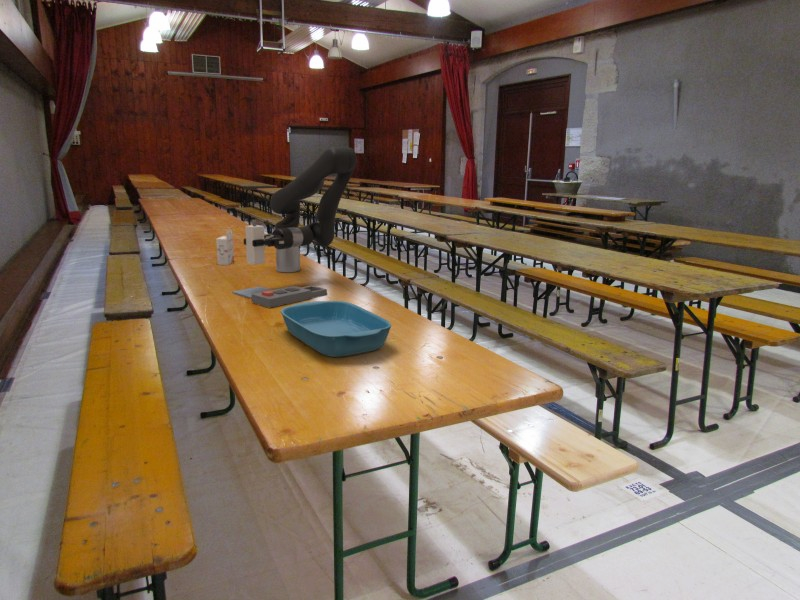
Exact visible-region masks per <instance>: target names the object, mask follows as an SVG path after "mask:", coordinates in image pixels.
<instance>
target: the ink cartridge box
mask: <svg viewBox="0 0 800 600" xmlns="http://www.w3.org/2000/svg"><path fill="white" fill-rule="evenodd" d="M233 234H234V233H233V230H232V229H230V230H227V231H226V232H225V235H222V236H219V237H217V238H216V239H215V241H216V255H217V257H216V258H217V265H218V266H230V265H231V264H232V262H233V263H234V262H235V256H234V253H235V251H234V235H233ZM229 264H230V265H229Z"/></svg>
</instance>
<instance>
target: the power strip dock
mask: <svg viewBox="0 0 800 600" xmlns="http://www.w3.org/2000/svg"><path fill="white" fill-rule="evenodd" d="M326 294H327V295H328V288H325V287H324V288H323V287H320V286H315V285H306V286H303V287H300V286H296V285H291V286H286V287H282V288H281V287H279V288H275V289H271V290H270V291H264V292H259V293H254V294H252V299H251V303H252V302H253V303H252V304H254V303H256V304H255V305H257V304H259V306H261V305H262V306H261V307H264V306H265V308H267V307H269V308H268V309H272V308H271V307H273V308H276V306H277V307H280V305H282V306H285V305H284V304H286V305H290V304H294V303H293V302H295V303H298V302H297V301H299V302H303V301H302V300H304V301H308V300H311V299H313V297H314V298H319V297H322V296H326ZM318 296H319V297H318ZM307 299H308V300H307ZM289 303H290V304H289Z"/></svg>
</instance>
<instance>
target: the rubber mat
mask: <svg viewBox="0 0 800 600" xmlns="http://www.w3.org/2000/svg"><path fill="white" fill-rule="evenodd" d="M270 290H272V289H271V288H267V287H263V286H256V287H255V286H254V287H249V288H244V289H239V290H238V289H237V290H234V291H232V292H231V293H232V294H233V293H234V295H236V294H237V296H240V295H241V296H240V297H243V296H244V297H243V298H247V297H248V298H247V299H250V298H252V294H254V293H259V292H264V291H270Z"/></svg>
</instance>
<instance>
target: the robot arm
mask: <svg viewBox="0 0 800 600" xmlns="http://www.w3.org/2000/svg"><path fill="white" fill-rule="evenodd" d="M356 165H357V154H356V152H355V150H354V149H353V148H352V147H349V146H331V147H328V148H327V149H325V150H324V151H323V152H322V154H320V155H319V157H318V158H316V160H315V161H314V162H313V163H312V164H311V165H310V166H308V167H307V168H306V169H305V170H303V171H302V172H301V173H300V174H299V175H297V176H296V177H295V178H294V179H293V180H292V181H290V182H289V183H288V184H287V185H285V186H284V187H282V188H280V189H278V190H277V191H275V192H274V193H273V194H272V195H271V198H270V201H269V206H270V209H271V211H273V212H274V213H275V214H277V215H285V217H284V218H283V219H282V220H280V221H278V222H277V223H276V224H275V229H274V230H273V231H272V233H265V234H264V239H263V240H262V239H259V240H253V241H252V246H254V247H257V246H264V247H269V248H270V247H274V248H275V261H276V262H275V267H276V268H275V269H276V272H278V273H296V272H299V271H300V270H301V248H300V247H304V246H308V245H311V244H312V243H313V241H314V242H315V243H316V244H317V245H319V246H320V247H323V248H326V247H328V246H330V245H331V244H332V243H333V242H334V238H335V227H336V226H335V218H336V217H337V216H336V215H337V212H338V208H339V204H340V201H341V199H342V196H343V194H344V192H345V190H346V189H347V186H348V184H349V182H350V179H351V177H352V176H353V173H354V171H355V169H356ZM331 175H336V176H335V178H334V180H333V182H332V183H331V184H330V186H328V188H327V189H326V191H325V192H324V193H323V194H322V196H321V198H320V200H319V204H318V206H317V207H318V208H317V211H316V215H315V216H316V219H317V221H314V222H313V221H312V222H311V223H309V224H307V225H305V226H299V225H300V211H301V207H300V206H301V201H302V200H303V201H304V200H306V199H309V198H311V197H312V196H315V194H317V193H318V192H320V190H322V188H323V187H324V184H325V178H327V177H328V176H331ZM243 245H245V246H246V237H245V238H243Z"/></svg>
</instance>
